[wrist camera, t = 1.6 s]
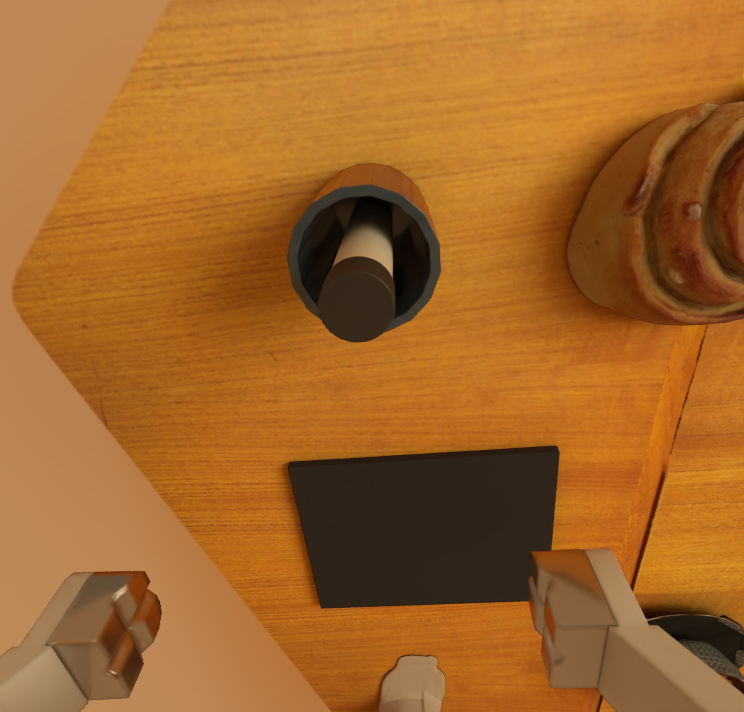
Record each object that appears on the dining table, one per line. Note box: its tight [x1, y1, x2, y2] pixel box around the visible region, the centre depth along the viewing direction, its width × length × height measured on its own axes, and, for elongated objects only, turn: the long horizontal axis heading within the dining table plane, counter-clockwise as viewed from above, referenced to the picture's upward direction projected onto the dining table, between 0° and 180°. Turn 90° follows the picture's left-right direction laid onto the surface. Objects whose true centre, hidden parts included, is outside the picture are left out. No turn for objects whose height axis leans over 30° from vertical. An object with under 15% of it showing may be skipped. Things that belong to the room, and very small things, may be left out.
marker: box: [318, 204, 395, 342], centre depth 25 cm, size 3×3×14 cm
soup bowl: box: [646, 614, 744, 694], centre depth 47 cm, size 15×16×7 cm
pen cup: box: [287, 163, 441, 332], centre depth 28 cm, size 7×7×9 cm
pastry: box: [567, 101, 744, 326], centre depth 27 cm, size 13×15×8 cm
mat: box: [288, 446, 560, 608], centre depth 44 cm, size 22×18×1 cm
